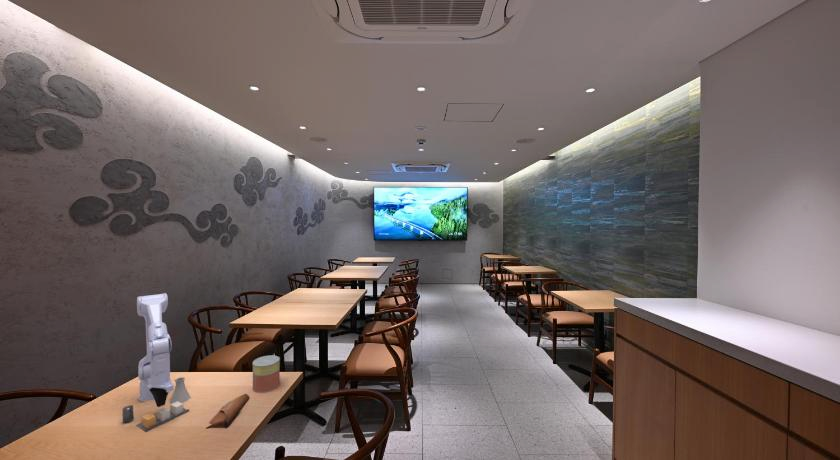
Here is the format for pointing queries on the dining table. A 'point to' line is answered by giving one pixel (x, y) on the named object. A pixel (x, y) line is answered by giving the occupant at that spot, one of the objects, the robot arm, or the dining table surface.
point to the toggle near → (176, 408)
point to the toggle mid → (163, 414)
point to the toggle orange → (148, 420)
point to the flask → (180, 392)
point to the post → (128, 414)
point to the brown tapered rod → (228, 412)
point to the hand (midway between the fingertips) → (160, 405)
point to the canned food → (266, 373)
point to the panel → (159, 422)
